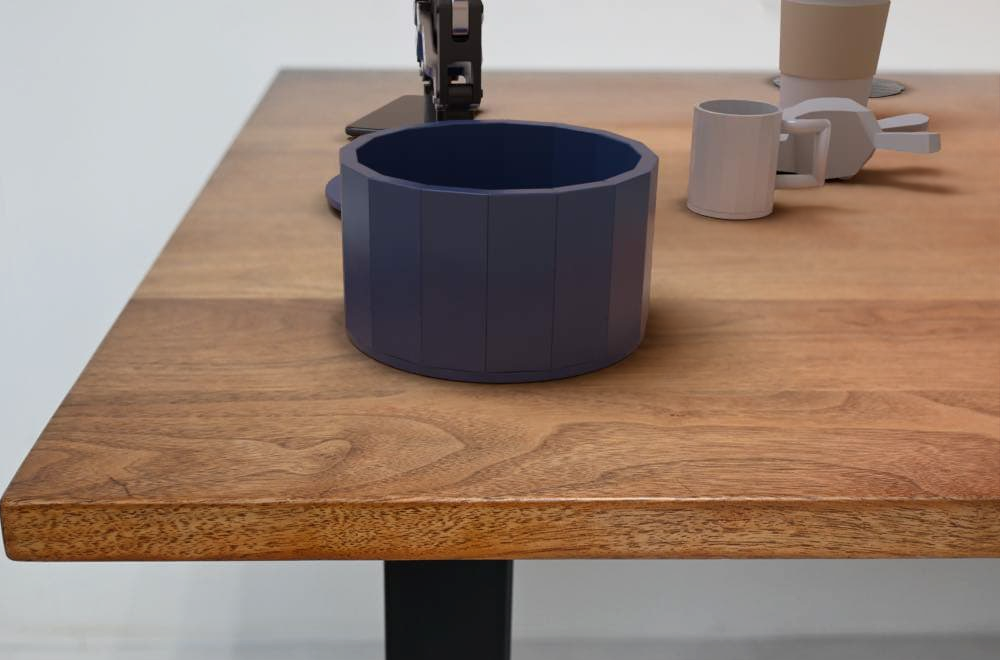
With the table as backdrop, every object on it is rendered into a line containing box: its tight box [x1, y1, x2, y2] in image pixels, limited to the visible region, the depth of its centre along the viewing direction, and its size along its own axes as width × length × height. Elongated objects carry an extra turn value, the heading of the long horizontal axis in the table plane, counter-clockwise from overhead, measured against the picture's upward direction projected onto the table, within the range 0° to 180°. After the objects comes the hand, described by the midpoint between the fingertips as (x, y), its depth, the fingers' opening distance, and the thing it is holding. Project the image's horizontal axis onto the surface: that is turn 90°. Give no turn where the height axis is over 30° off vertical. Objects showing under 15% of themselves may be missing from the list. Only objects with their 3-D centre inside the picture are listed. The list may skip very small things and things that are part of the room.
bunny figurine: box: [777, 97, 942, 181], centre depth 88 cm, size 10×5×15 cm
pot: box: [338, 118, 660, 384], centre depth 60 cm, size 15×15×8 cm
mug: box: [686, 98, 831, 220], centre depth 80 cm, size 9×5×6 cm, turn 97°
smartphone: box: [344, 94, 481, 138], centre depth 103 cm, size 7×1×15 cm
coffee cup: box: [778, 0, 892, 109], centre depth 103 cm, size 9×9×15 cm
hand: (447, 154), depth 80 cm, fingers open, 8 cm apart
